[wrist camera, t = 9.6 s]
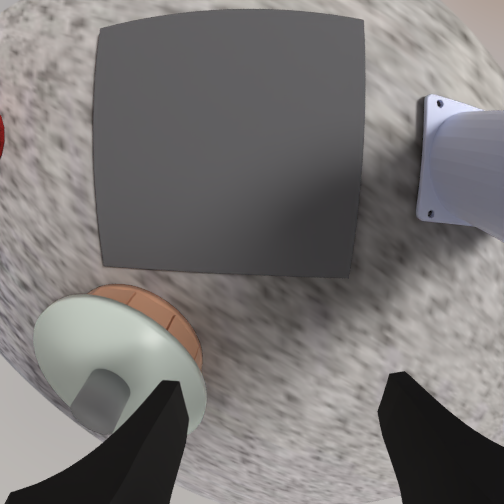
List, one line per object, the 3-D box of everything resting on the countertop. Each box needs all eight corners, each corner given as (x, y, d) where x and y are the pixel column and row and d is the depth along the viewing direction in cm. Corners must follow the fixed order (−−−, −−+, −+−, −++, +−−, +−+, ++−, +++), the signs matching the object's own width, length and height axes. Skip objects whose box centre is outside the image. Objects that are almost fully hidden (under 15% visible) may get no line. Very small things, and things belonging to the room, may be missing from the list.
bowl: (198, 289, 20) (183, 323, 16) (206, 403, 24) (199, 439, 20) (62, 278, 20) (32, 302, 17) (93, 383, 24) (76, 412, 20)
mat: (361, 22, 14) (363, 20, 13) (346, 274, 19) (348, 278, 19) (103, 30, 14) (100, 28, 14) (107, 263, 20) (103, 266, 19)
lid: (194, 299, 16) (174, 346, 12) (216, 444, 20) (209, 486, 16) (17, 287, 16) (-19, 315, 13) (73, 417, 21) (55, 449, 17)
